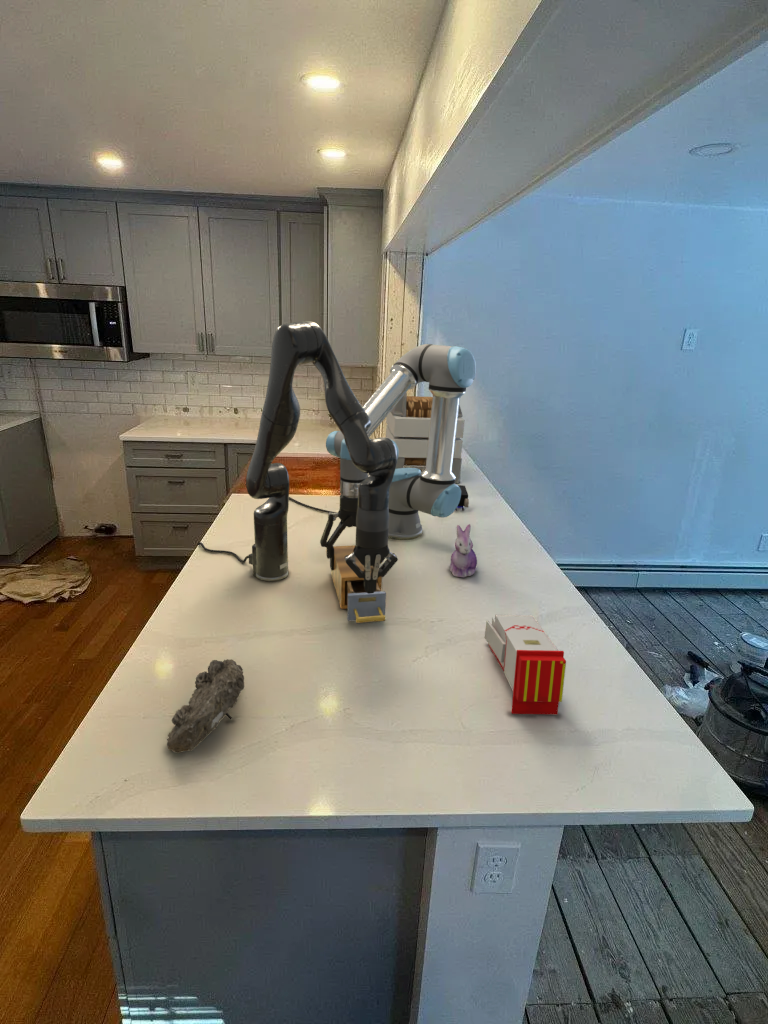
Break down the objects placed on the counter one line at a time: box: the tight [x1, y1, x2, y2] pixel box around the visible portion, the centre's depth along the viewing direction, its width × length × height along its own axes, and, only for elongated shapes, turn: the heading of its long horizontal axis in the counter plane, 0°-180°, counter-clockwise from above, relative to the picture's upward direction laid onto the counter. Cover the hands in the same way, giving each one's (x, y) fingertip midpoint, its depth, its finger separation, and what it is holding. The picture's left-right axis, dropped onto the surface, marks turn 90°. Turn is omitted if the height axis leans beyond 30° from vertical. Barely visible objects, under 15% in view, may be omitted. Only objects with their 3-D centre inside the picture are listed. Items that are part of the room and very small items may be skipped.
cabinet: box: [330, 544, 383, 610], centre depth 158 cm, size 20×11×9 cm, turn 12°
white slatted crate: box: [385, 392, 465, 484], centre depth 268 cm, size 34×33×41 cm
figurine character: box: [455, 484, 470, 512], centre depth 229 cm, size 7×8×15 cm
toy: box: [484, 614, 567, 716], centre depth 124 cm, size 12×13×30 cm
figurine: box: [449, 523, 478, 578], centre depth 170 cm, size 9×10×15 cm
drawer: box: [345, 580, 387, 624], centre depth 147 cm, size 25×9×7 cm, turn 12°
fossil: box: [166, 658, 245, 754], centre depth 106 cm, size 22×10×15 cm
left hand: (369, 591), depth 136 cm, fingers closed
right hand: (351, 567), depth 163 cm, fingers closed on cabinet, 11 cm apart
